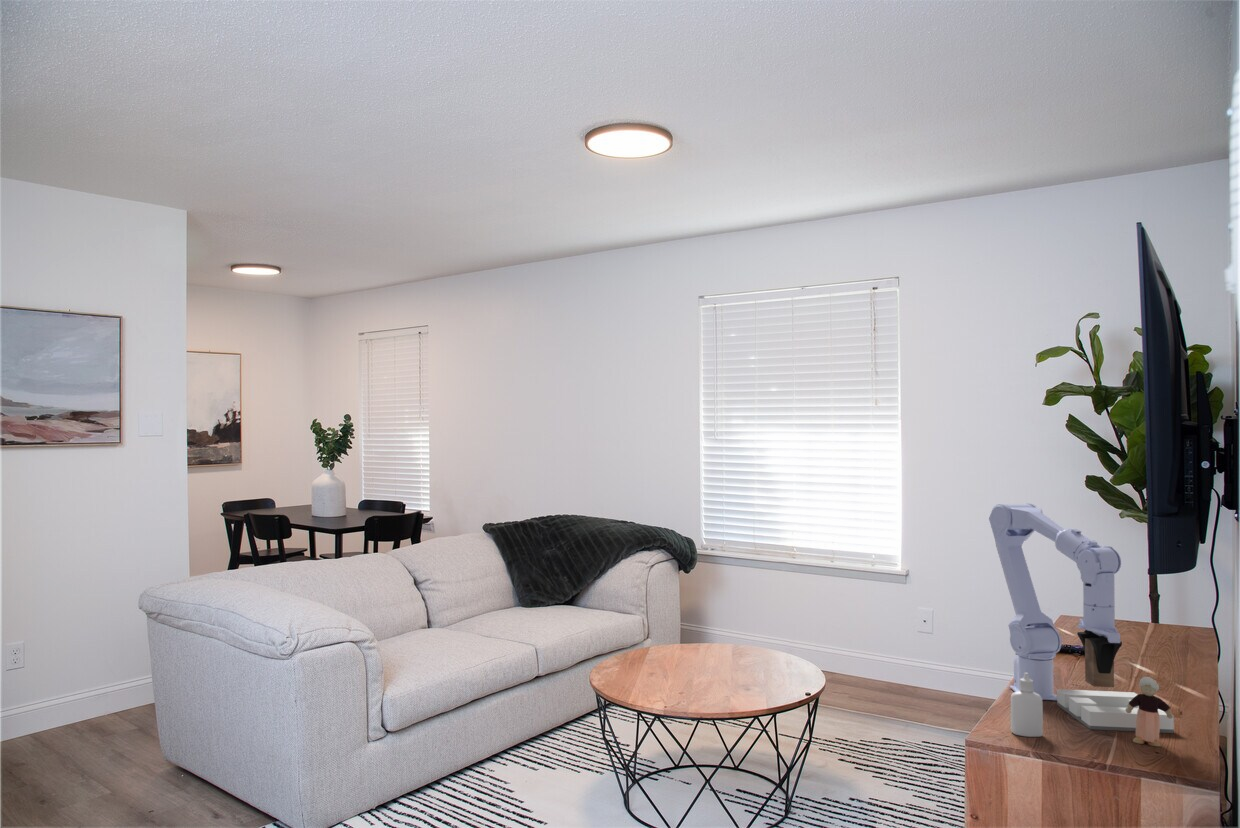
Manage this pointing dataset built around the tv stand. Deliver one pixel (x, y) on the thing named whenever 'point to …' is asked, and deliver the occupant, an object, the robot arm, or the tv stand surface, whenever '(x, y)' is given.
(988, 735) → the tv stand surface
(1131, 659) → the tv stand surface
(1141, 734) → the grandmother figurine
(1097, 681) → the walnut pin
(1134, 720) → the socket block
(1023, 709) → the eye dropper bottle
